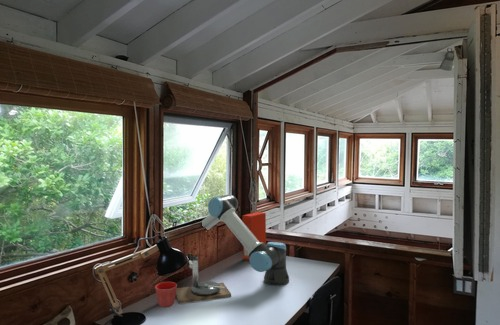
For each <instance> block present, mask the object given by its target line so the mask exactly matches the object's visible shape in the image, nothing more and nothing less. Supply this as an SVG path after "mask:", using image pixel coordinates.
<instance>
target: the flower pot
mask: <svg viewBox="0 0 500 325" xmlns="http://www.w3.org/2000/svg"><path fill="white" fill-rule="evenodd" d="M154 287H155V295H156V298H157V302H158V306H159V307H161V308H162V307H163V308H167V307H171V306H173V305H174V304H175V300H176V289H177V288H178V284H177V283H176V282H174V281H163V282H159V283H158V284H156V285H155V286H154Z"/></svg>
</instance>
